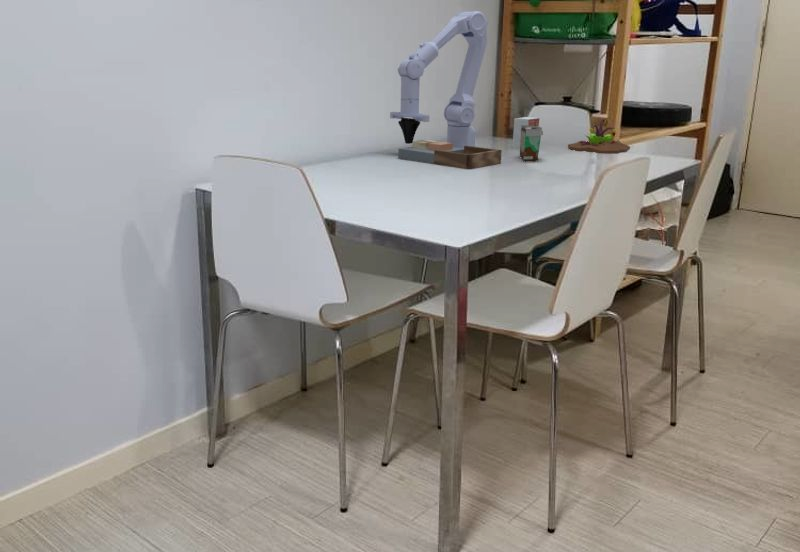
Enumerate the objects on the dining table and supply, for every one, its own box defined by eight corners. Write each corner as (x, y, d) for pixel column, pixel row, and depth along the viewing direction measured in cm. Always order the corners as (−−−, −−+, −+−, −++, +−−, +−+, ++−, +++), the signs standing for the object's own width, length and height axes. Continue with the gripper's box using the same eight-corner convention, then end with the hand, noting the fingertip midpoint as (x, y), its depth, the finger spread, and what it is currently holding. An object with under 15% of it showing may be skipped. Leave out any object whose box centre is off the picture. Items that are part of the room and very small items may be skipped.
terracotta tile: (439, 148, 246) (440, 141, 246) (452, 149, 243) (453, 143, 242) (427, 149, 242) (427, 143, 241) (440, 151, 239) (440, 144, 238)
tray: (465, 158, 247) (466, 145, 245) (500, 163, 239) (501, 150, 237) (433, 163, 235) (434, 150, 234) (469, 169, 227) (470, 155, 226)
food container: (544, 163, 242) (546, 129, 239) (523, 162, 242) (526, 129, 239) (538, 157, 253) (540, 125, 250) (518, 156, 253) (521, 125, 251)
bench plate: (430, 153, 255) (431, 144, 254) (465, 158, 247) (466, 148, 246) (398, 158, 244) (398, 148, 243) (433, 163, 235) (434, 153, 234)
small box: (526, 151, 267) (528, 119, 264) (511, 149, 270) (513, 118, 267) (537, 148, 273) (539, 117, 270) (523, 147, 276) (525, 116, 273)
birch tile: (424, 146, 250) (425, 139, 249) (437, 147, 247) (437, 141, 246) (412, 147, 246) (412, 141, 245) (425, 149, 242) (425, 142, 242)
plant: (637, 152, 272) (641, 119, 269) (617, 158, 257) (620, 123, 253) (582, 146, 283) (585, 115, 280) (559, 152, 268) (562, 118, 264)
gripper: (383, 98, 248) (383, 142, 252) (419, 101, 239) (418, 146, 243) (398, 97, 253) (397, 140, 257) (434, 100, 244) (432, 144, 248)
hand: (408, 143), depth 250 cm, fingers closed
